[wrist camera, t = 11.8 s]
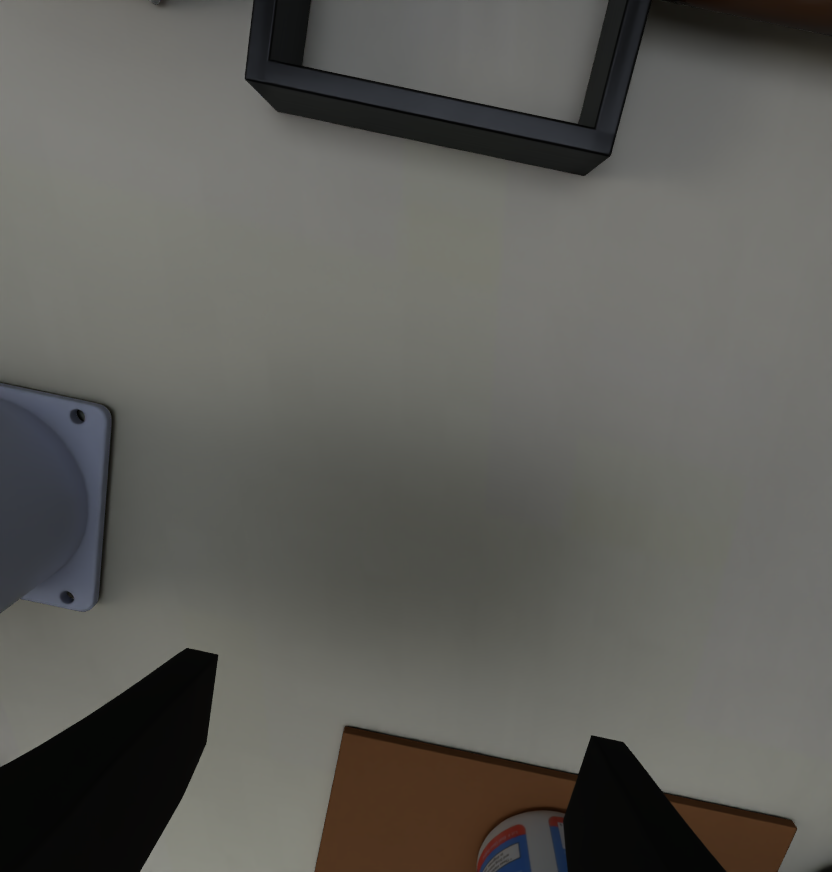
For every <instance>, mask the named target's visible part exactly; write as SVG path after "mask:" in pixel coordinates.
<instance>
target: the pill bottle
mask: <svg viewBox="0 0 832 872" xmlns="http://www.w3.org/2000/svg"><path fill="white" fill-rule="evenodd" d="M564 816H565V814H564V813H561V812H556V811H546V810H539V811H530V812H525V813H521V814H517V815H515V816H512V817H510V818H508V819H506V820H504V821H503V822H501V823H500V824H499V825H497V826H496V827H495V828H494V829H493V830H492V831H491V832H490V833H489V834H488V836H487V837H486V838H485V840H484V842H483V844H482V846H481V848H480V851H479V854H478V859H477V872H568V870H567V861H566V851H565V839H564V828H563V819H564Z"/></svg>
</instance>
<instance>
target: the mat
mask: <svg viewBox="0 0 832 872" xmlns="http://www.w3.org/2000/svg"><path fill="white" fill-rule="evenodd" d="M577 777H578V775H575V774H570V773H565V772H560V771H556V770H551V769H546V768H541V767H537V766H532V765H527V764H522V763H518V762H513V761H508V760H503V759H499V758H494V757H489V756H485V755H480V754H475V753H470V752H466V751H461V750H456V749H451V748H447V747H442V746H437V745H432V744H428V743H423V742H418V741H413V740H409V739H404V738H399V737H394V736H390V735H385V734H380V733H375V732H371V731H366V730H361V729H356V728H352V727H347V726H345V727H344V732H343V736H342V741H341V746H340V751H339V756H338V761H337V766H336V771H335V775H334V780H333V785H332V790H331V795H330V800H329V805H328V810H327V814H326V819H325V824H324V829H323V834H322V839H321V844H320V848H319V853H318V858H317V863H316V868H315V872H477V859H478V854H479V851H480V848H481V846H482V844H483V842H484V840H485V838H486V837H487V836H488V834H489V833H490V832H491V831H492V830H493V829H494V828H495V827H496V826H497V825H499V824H500V823H501V822H503V821H504V820H506V819H508V818H510V817H512V816H515V815H517V814H521V813H525V812H530V811H539V810H546V811H556V812H561V813H564V814H565V813H566V810H567V807H568V804H569V801H570V798H571V795H572V792H573V789H574V786H575V783H576V780H577ZM664 795H665V796H666V797H667V799H668V800H669V801H670V802H671V804H672V805H673V806H674V808H675V809H676V810H677V811H678V813H679V814H680V815H681V816H682V818H683V819H684V820H685V822H686V823H687V824H688V825H689V827H690V828H691V829H692V830H693V832H694V833H695V834H696V835H697V837H698V838H699V839H700V840H701V841H702V843H703V844H704V845H705V846H706V848H707V849H708V850H709V851H710V852H711V854H712V855H713V856H714V857H715V858H716V860H717V861H718V862H719V863H720V864H721V866H722V867H723V868H724V869H725V870H726V872H778V869H779V867H780V865H781V863H782V861H783V859H784V856H785V854H786V852H787V850H788V848H789V846H790V843H791V841H792V839H793V837H794V835H795V833H796V831H797V827H796V826H795V824H794V823H793V821H792V820H788V819H783V818H779V817H774V816H769V815H764V814H760V813H755V812H750V811H745V810H741V809H736V808H731V807H726V806H722V805H717V804H712V803H707V802H703V801H698V800H693V799H688V798H684V797H679V796H674V795H669V794H665V793H664Z"/></svg>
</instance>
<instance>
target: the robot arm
mask: <svg viewBox="0 0 832 872" xmlns="http://www.w3.org/2000/svg"><path fill="white" fill-rule="evenodd" d="M78 409H79V410H81V411H82V412H83V413H84V415H85V420H84V421H82V420H80V419H79V418H78V417H77V410H78ZM111 424H112V418H111V414H110V412H109V410H108V409H107V408H106V407H105V406H103V405H101V404H98V403H94V402H89V401H84V400H79V399H75V398H70V397H65V396H60V395H56V394H51V393H46V392H41V391H37V390H32V389H27V388H22V387H18V386H13V385H8V384H3V383H0V613H1V612H3V611H4V610H5V609H7V608H8V607H10V606H11V605H12V604H14V603H15V602H16V601H18V600H19V599H23V600H28V601H33V602H38V603H42V604H47V605H52V606H57V607H61V608H66V609H71V610H75V611H81V612H86V611H88V610H90V609H91V608H92V607H93V606H94V605H95V604H96V603H97V602H98V599H99V587H100V573H101V560H102V546H103V532H104V519H105V505H106V492H107V478H108V465H109V451H110V438H111ZM67 591H68V592H70V593H71V594H72V595H73V597H74V598H71V597H69V596H68V595H67ZM217 661H218V655H217V654H213V653H208V652H203V651H199V650H194V649H189V648H186V649H185V650H183V651H181V652H180V653H178V654H177V655H176V656H174V657H173V658H171V659H170V660H168V661H167V662H166V663H164V664H163V665H161V666H160V667H159V668H157V669H156V670H154V671H153V672H152V673H150V674H149V675H147V676H146V677H145V678H143V679H142V680H140V681H139V682H137V683H136V684H135V685H133V686H132V687H130V688H129V689H127V690H126V691H125V692H123V693H122V694H120V695H119V696H117V697H116V698H114V699H113V700H111V701H110V702H108V703H107V704H105V705H104V706H102V707H101V708H99V709H98V710H96V711H95V712H93V713H92V714H90V715H88V716H87V717H85V718H84V719H82V720H81V721H79V722H77V723H76V724H74V725H72V726H71V727H69V728H67V729H66V730H64V731H63V732H61V733H59V734H58V735H56V736H54V737H53V738H51V739H49V740H48V741H46V742H44V743H43V744H41V745H39V746H38V747H36V748H34V749H33V750H31V751H29V752H27V753H25V754H24V755H22V756H20V757H18V758H17V759H15V760H13V761H11V762H9V763H7V764H5V765H4V766H2V767H0V872H140V871H141V869H142V867H143V865H144V864H145V862H146V860H147V858H148V857H149V855H150V853H151V852H152V850H153V848H154V846H155V845H156V843H157V841H158V840H159V838H160V836H161V834H162V833H163V831H164V829H165V827H166V826H167V824H168V822H169V820H170V819H171V817H172V815H173V813H174V812H175V810H176V808H177V806H178V804H179V803H180V801H181V799H182V797H183V795H184V793H185V791H186V788H187V786H188V784H189V782H190V780H191V777H192V775H193V773H194V771H195V768H196V766H197V764H198V762H199V759H200V757H201V755H202V752H203V750H204V748H205V745H206V742H207V735H208V728H209V720H210V713H211V705H212V698H213V691H214V683H215V676H216V668H217ZM563 828H564V839H565V851H566V861H567V870H568V872H726V870H725V869H724V868H723V867H722V866H721V864H720V863H719V862H718V861H717V860H716V858H715V857H714V856H713V855H712V854H711V852H710V851H709V850H708V849H707V848H706V846H705V845H704V844H703V843H702V841H701V840H700V839H699V838H698V837H697V835H696V834H695V833H694V832H693V830H692V829H691V828H690V827H689V825H688V824H687V823H686V822H685V820H684V819H683V818H682V816H681V815H680V814H679V813H678V811H677V810H676V809H675V808H674V806H673V805H672V804H671V802H670V801H669V800H668V799H667V797H666V796H665V795H664V793H663V792H662V791H661V789H660V788H659V787H658V786H657V784H656V783H655V782H654V780H653V779H652V778H651V776H650V775H649V774H648V773H647V771H646V770H645V769H644V767H643V766H642V765H641V763H640V762H639V761H638V760H637V758H636V757H635V756H634V755H633V753H632V752H631V751H630V750H629V748H628V747H627V746H626V745H625V744H624V742H620V741H616V740H611V739H606V738H602V737H597V736H593V735H591V738H590V741H589V744H588V747H587V750H586V753H585V756H584V759H583V762H582V765H581V768H580V771H579V774H578V777H577V780H576V783H575V786H574V789H573V792H572V795H571V798H570V801H569V804H568V807H567V810H566V813H565V816H564V819H563Z"/></svg>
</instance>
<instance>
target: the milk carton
mask: <svg viewBox="0 0 832 872" xmlns="http://www.w3.org/2000/svg"><path fill="white" fill-rule="evenodd" d="M149 1H150V2H152V3H153V4H155V5H158V4H159V3H160V1H161V0H149Z"/></svg>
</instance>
